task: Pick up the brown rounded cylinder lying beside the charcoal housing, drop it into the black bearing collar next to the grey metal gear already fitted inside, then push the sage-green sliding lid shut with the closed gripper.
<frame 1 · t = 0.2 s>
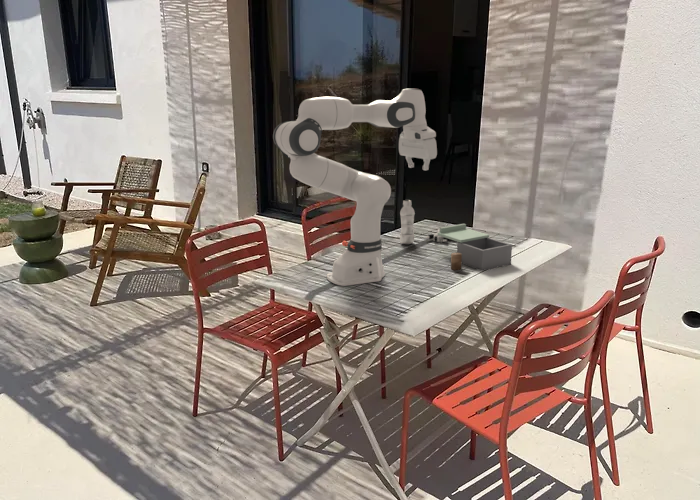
hand: (418, 168, 214), 39 cm above the table, tool pointing down, fingers open, 8 cm apart
brown rounded cylinder: (456, 268, 218), on the table
robot toy: (444, 240, 260), on the table
housing: (483, 262, 225), on the table
plastic bottle: (407, 244, 255), on the table
lid: (463, 232, 233), point 10 cm above the table, slide at 13.0 cm
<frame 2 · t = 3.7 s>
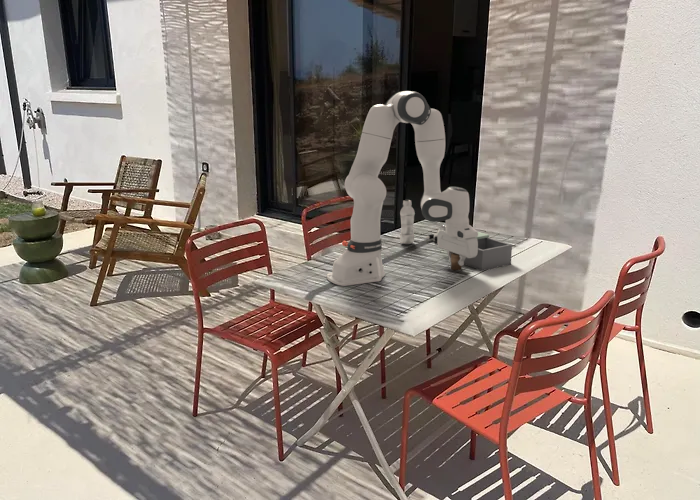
hand: (456, 263, 218), 2 cm above the table, tool pointing down, fingers closed on brown rounded cylinder, 4 cm apart
brown rounded cylinder: (456, 268, 218), on the table, touching gripper
everything else where it was.
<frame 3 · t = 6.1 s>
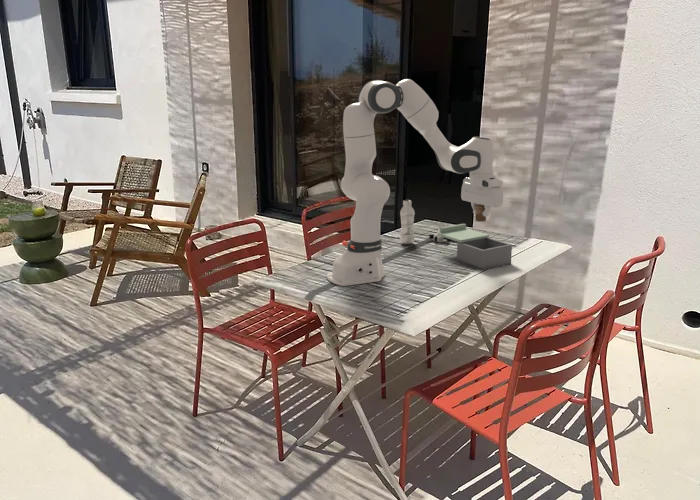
hand: (480, 215, 217), 20 cm above the table, tool pointing down, fingers closed on brown rounded cylinder, 4 cm apart
brown rounded cylinder: (480, 220, 218), point 18 cm above the table, touching gripper
everything else where it was.
when the fingers open (5 cm above the table, at t = 8.6 s): brown rounded cylinder drops 2 cm, resting on housing.
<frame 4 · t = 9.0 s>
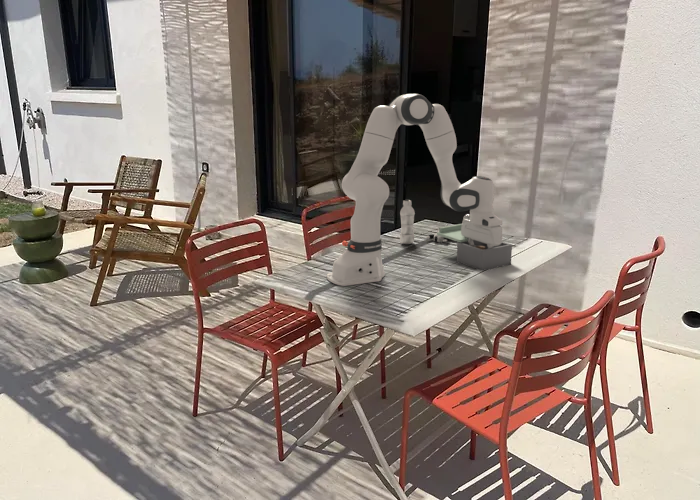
hand: (480, 251, 222), 5 cm above the table, tool pointing down, fingers open, 8 cm apart
brown rounded cylinder: (479, 261, 223), point 1 cm above the table, touching housing
lid: (462, 232, 233), point 10 cm above the table, slide at 13.4 cm
everything else where it was.
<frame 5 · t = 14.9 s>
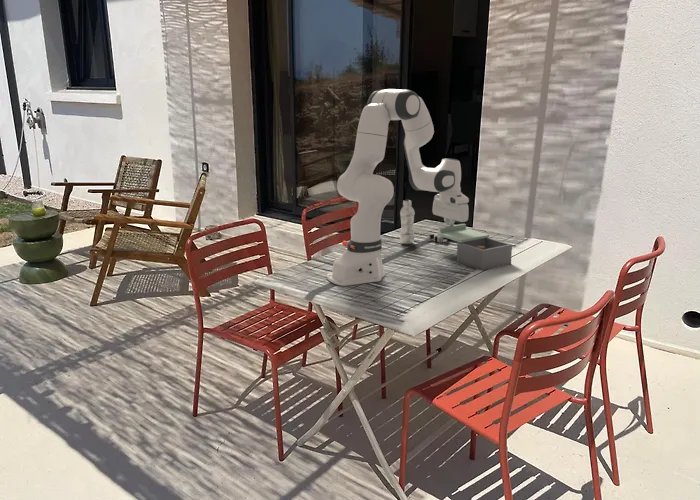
hand: (449, 228, 241), 10 cm above the table, tool pointing down, fingers closed
lid: (463, 232, 233), point 10 cm above the table, slide at 13.1 cm, touching gripper
everything else where it was.
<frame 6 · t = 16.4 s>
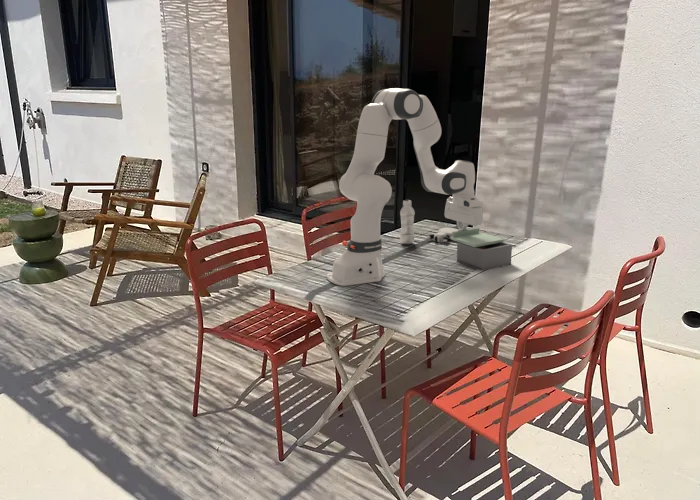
hand: (462, 232, 233), 10 cm above the table, tool pointing down, fingers closed
lid: (476, 236, 226), point 10 cm above the table, slide at 4.5 cm, touching gripper
everything else where it was.
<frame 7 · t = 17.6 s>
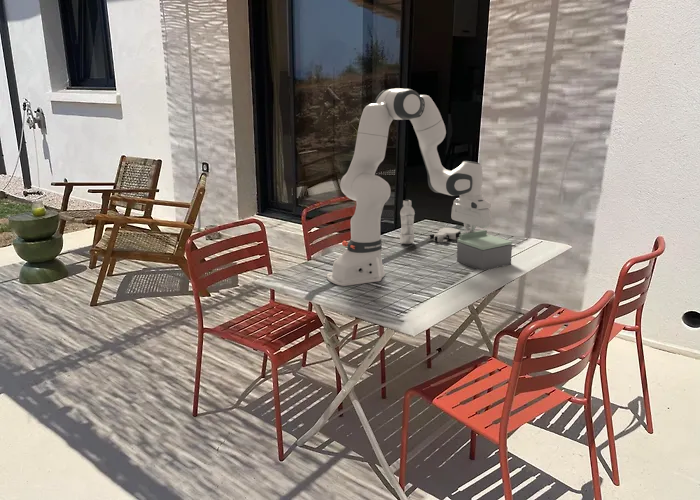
hand: (469, 234, 229), 10 cm above the table, tool pointing down, fingers closed
lid: (484, 239, 222), point 10 cm above the table, slide at 0.0 cm, touching gripper
everything else where it was.
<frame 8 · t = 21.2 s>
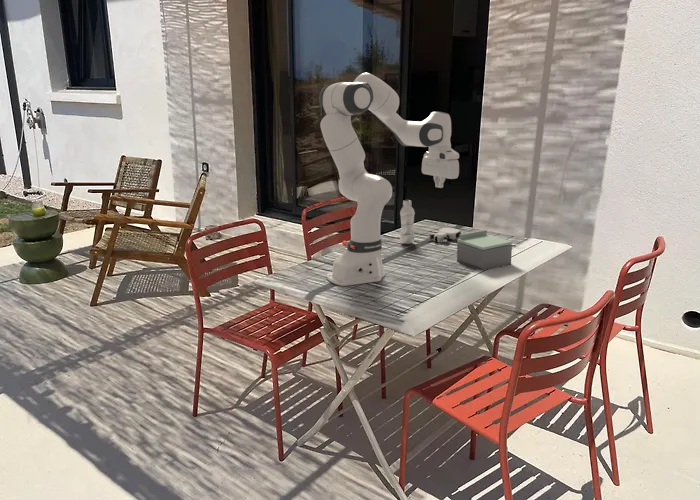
hand: (439, 187, 228), 29 cm above the table, tool pointing down, fingers closed
lid: (484, 239, 222), point 10 cm above the table, slide at 0.0 cm
everything else where it was.
at the end: brown rounded cylinder 0.1 cm from the target spot on the housing, point 1.0 cm above the housing's base; brown rounded cylinder tilted 0°; lid slide at 0.0 cm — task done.
